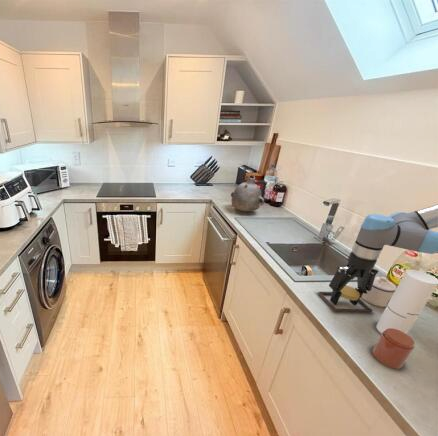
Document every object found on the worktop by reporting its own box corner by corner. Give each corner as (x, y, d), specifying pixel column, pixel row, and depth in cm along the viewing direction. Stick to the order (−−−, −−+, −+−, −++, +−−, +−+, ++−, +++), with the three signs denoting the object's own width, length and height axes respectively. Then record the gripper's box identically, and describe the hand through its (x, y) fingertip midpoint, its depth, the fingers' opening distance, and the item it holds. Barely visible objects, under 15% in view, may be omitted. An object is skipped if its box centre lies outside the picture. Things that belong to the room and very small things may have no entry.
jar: (386, 350, 77) (400, 327, 73) (407, 370, 71) (423, 347, 67) (365, 349, 78) (378, 326, 73) (384, 370, 71) (399, 346, 67)
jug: (227, 214, 185) (232, 176, 173) (229, 205, 203) (234, 170, 191) (261, 219, 177) (269, 179, 164) (260, 209, 195) (267, 173, 183)
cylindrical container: (407, 345, 79) (445, 286, 69) (381, 338, 81) (414, 280, 71) (395, 328, 85) (429, 272, 75) (371, 323, 88) (400, 267, 78)
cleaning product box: (258, 201, 213) (262, 179, 205) (262, 204, 204) (266, 182, 196) (239, 201, 213) (243, 179, 205) (242, 204, 205) (246, 182, 197)
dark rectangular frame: (350, 296, 101) (352, 292, 100) (370, 314, 91) (372, 310, 91) (317, 295, 101) (318, 291, 100) (333, 313, 92) (335, 309, 91)
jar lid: (341, 298, 92) (342, 295, 91) (331, 286, 98) (333, 283, 98) (362, 301, 90) (364, 298, 90) (351, 289, 97) (353, 285, 96)
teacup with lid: (392, 311, 93) (405, 287, 88) (363, 304, 96) (374, 281, 91) (378, 292, 103) (389, 270, 99) (353, 286, 106) (362, 265, 102)
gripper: (382, 250, 90) (360, 296, 99) (329, 249, 90) (312, 295, 100) (401, 261, 83) (375, 310, 92) (343, 260, 84) (324, 309, 93)
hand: (342, 302), depth 96 cm, fingers closed on jar lid, 7 cm apart
